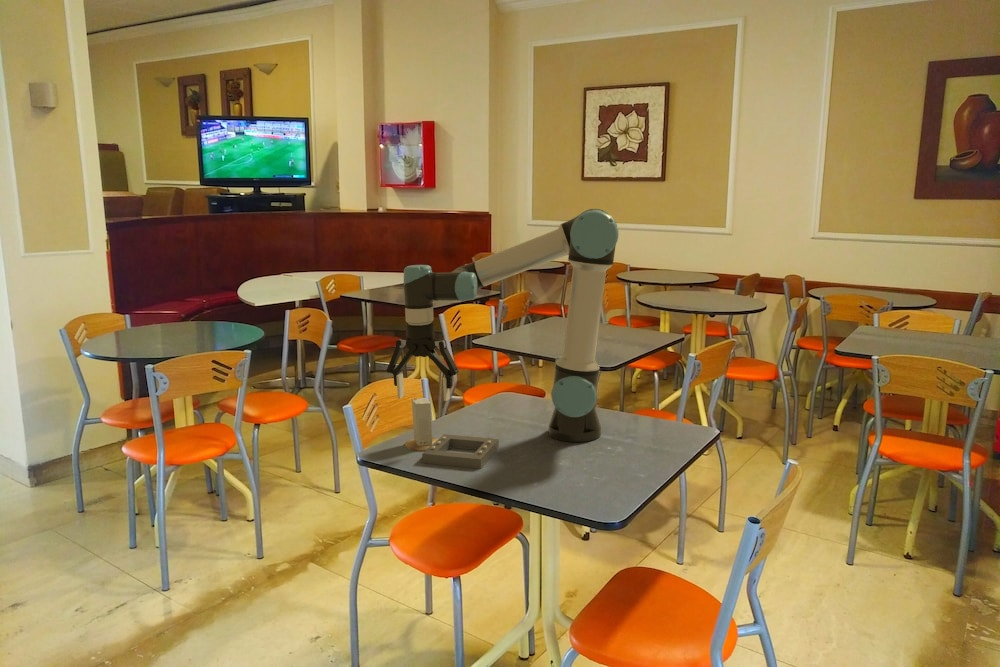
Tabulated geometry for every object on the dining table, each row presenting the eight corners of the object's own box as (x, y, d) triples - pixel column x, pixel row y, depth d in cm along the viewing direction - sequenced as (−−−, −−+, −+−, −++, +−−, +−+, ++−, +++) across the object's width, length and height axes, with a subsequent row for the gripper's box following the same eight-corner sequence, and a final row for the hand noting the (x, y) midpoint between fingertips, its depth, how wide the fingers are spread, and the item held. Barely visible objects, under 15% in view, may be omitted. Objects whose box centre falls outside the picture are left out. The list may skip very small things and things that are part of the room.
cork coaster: (446, 440, 211) (446, 438, 210) (433, 452, 201) (433, 450, 201) (413, 437, 213) (413, 435, 213) (399, 449, 204) (399, 446, 204)
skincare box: (433, 445, 205) (431, 402, 203) (417, 447, 204) (415, 404, 201) (428, 438, 211) (427, 397, 208) (412, 439, 209) (411, 398, 207)
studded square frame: (498, 447, 204) (498, 437, 204) (481, 468, 189) (480, 457, 189) (444, 442, 209) (443, 432, 208) (422, 462, 194) (422, 451, 193)
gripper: (468, 321, 201) (471, 396, 205) (383, 319, 208) (387, 392, 212) (458, 326, 193) (462, 404, 198) (371, 324, 200) (376, 399, 205)
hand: (423, 398), depth 205 cm, fingers open, 13 cm apart
